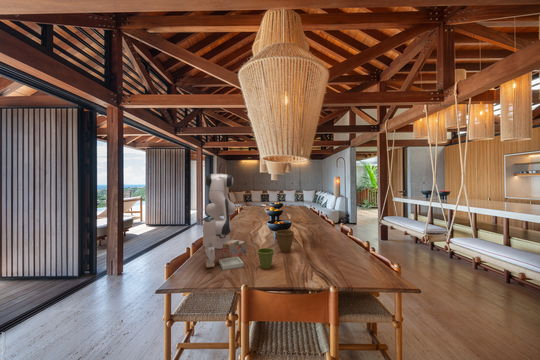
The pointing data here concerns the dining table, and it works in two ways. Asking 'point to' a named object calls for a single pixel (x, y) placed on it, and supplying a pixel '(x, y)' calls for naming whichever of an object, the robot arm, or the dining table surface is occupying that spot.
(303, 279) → the dining table surface
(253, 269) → the dining table surface
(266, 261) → the plant pot
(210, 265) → the maple block
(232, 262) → the tray
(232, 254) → the patterned box
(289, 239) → the plant pot
